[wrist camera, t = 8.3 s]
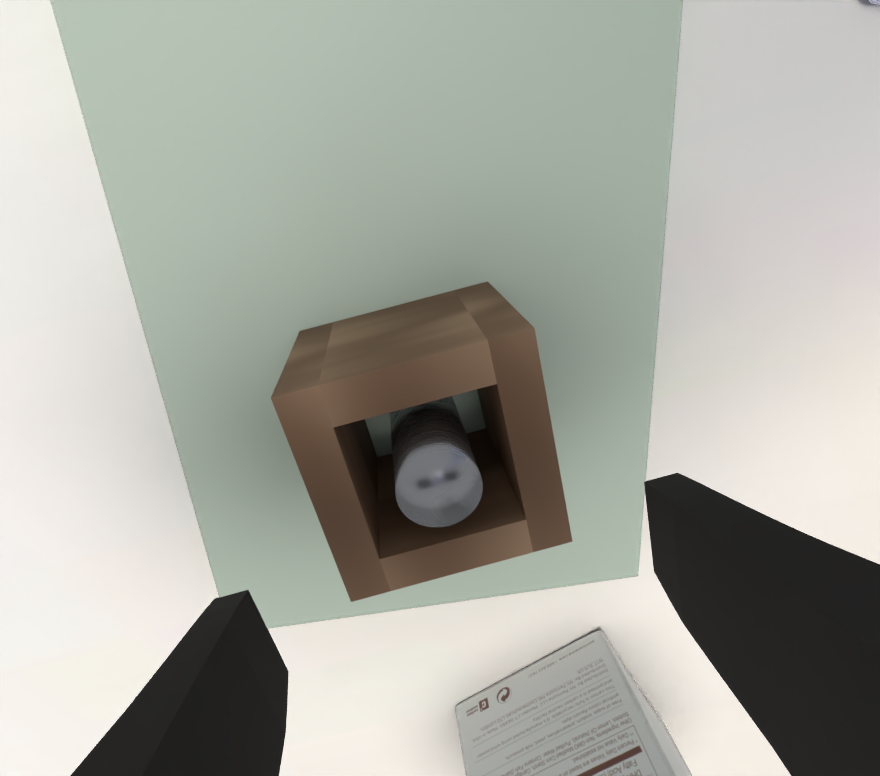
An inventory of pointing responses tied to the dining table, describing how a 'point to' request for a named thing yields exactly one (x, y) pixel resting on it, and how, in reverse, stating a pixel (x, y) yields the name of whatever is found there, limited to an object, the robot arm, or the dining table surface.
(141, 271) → the sage board
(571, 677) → the supplement box
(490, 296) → the walnut collar
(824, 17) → the dining table surface
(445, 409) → the grey steel post
